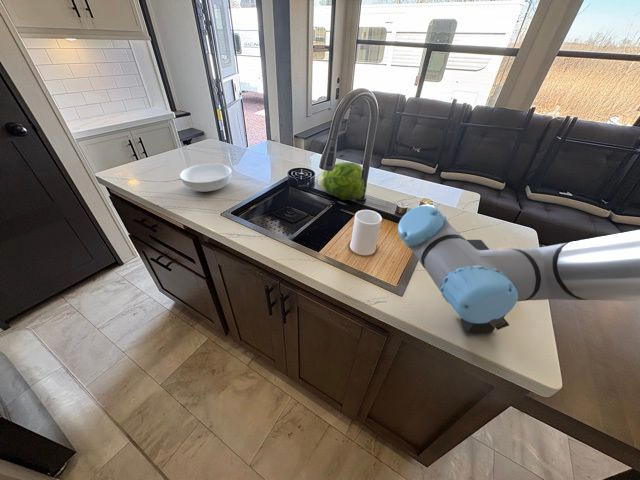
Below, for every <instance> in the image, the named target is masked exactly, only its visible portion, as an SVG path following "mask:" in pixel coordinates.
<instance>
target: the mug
mask: <svg viewBox="0 0 640 480" xmlns="http://www.w3.org/2000/svg"><path fill="white" fill-rule="evenodd" d="M382 222H383V217H382V216H381V214H380V213H378V212H377V211H375V210H370V209H361V210H358V211H356V212H355V215H354V220H353V227H352V233H351V235H352V236H351V239H350V240H351V241H350V243H349V248H350V250H351V251H352V252H353V253H354V254H356V255H358V256H370V255H373V254H374V253H375V252H376V251H377V243H378V237H379V233H380V229H381V225H382Z"/></svg>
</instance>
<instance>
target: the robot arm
mask: <svg viewBox="0 0 640 480" xmlns="http://www.w3.org/2000/svg"><path fill="white" fill-rule="evenodd" d="M397 234H398V236H399V237H400V239H401V240H402V241H403V243H404V245H405V246H406V247H408V248H409V249H410V250H411V252H412V253H413V254H414V256H415V257H416V259H417V260H418V261H419V263H420V265H421V266H422V267H423V268H424V270H425V271H426V272H427V274H428V275H429V277H430V278H431V280H432V281H433V282H434V284H435V286H436V287H437V288H438V290H439V292H440V293H441V296H442V297H443V299H444V300H445V301H446V302H447V303H448V304H449V305H450V306H451V308H452V309H453V310H454V311H455V313H456V314H457V315H458V316H459V318H461V319H464V320H466V321H468V322H471V323H477V324H480V323H488V322H489V323H490V324H491V326H493V327H495V329H496V331H498V330H499V331H500V330H501V329H504V328H506V327H509V326H510V324H509V322H508V321H507V320H506V318H505V317H503V316H504V315H505V316H507V314H508V313H510V312H511V311H512V310H513V309H514V307H515V306H516V304H517V302H519V303H520V302H524V301H525V302H526V301H527V302H528V301H547V300H549V301H550V300H558V301H559V300H562V301H564V300H565V301H611V302H612V301H613V302H640V229H636V230H631V231H625V232H620V233H614V234H609V235H608V234H607V235H603V236H597V237H592V238H586V239H579V240H576V241H570V242H564V243H558V244H557V243H556V244H551V245H547V246H540V247H539V246H538V247H529V248H528V247H527V248H506V249H505V248H504V249H489V250H477V249H475V248H474V247H473V246H472V245H471V244H470V243H469V242H468V241H467V240H468V239H466V238H465V237H464V236H462V234H461V233H460V232H459V231H457V230H456V229H455V228H454V227H453V226H452V224H451V223H450V222H449V221H448V220H447V217H446V215H444V214H443V213H442V212H441V211H440V210H439V208H438V207H436V206H434V205H432V204H421V205H417V206H415V207H413V208H411V209H410V210H409V211H408V212H405V214H403V216H402V217H401V218H400V220H399V221H398V224H397Z"/></svg>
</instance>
